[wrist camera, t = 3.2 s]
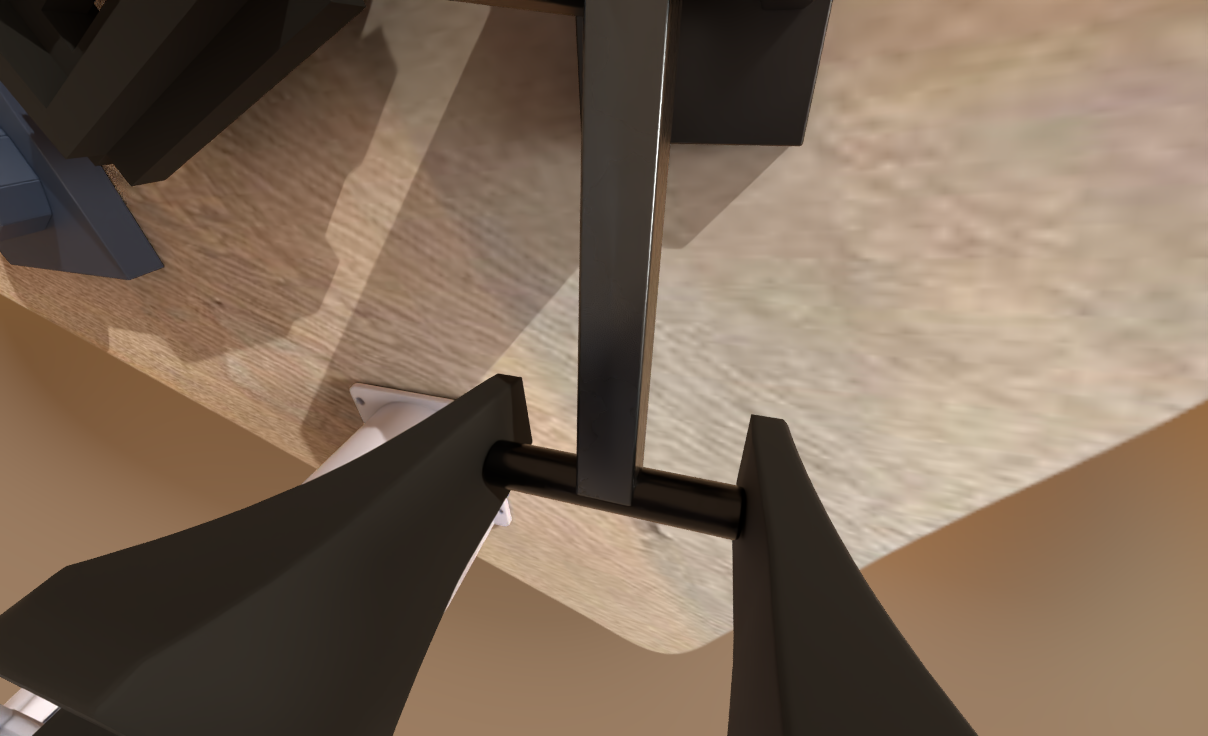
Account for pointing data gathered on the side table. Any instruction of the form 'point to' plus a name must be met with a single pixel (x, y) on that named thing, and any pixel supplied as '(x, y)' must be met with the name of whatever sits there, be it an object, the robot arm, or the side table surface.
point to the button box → (62, 207)
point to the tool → (153, 70)
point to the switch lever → (621, 285)
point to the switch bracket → (732, 67)
